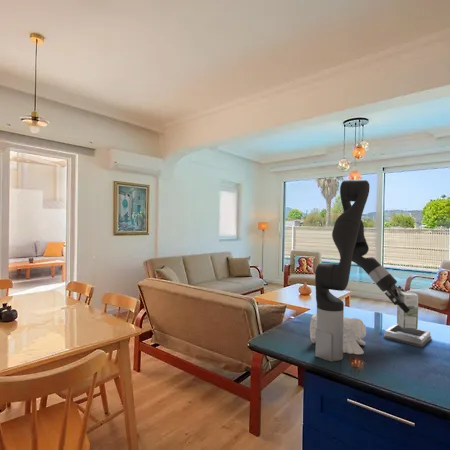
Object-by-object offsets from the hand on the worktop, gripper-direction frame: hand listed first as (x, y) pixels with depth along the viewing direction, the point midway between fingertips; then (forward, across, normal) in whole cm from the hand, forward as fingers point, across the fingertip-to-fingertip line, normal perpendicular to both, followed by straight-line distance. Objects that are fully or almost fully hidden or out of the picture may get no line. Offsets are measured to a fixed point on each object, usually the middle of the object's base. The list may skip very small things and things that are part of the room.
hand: (411, 309), depth 127 cm
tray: (+8, 0, +10) cm, 12 cm away
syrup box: (+5, 0, +6) cm, 8 cm away
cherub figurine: (-3, -29, +21) cm, 36 cm away
